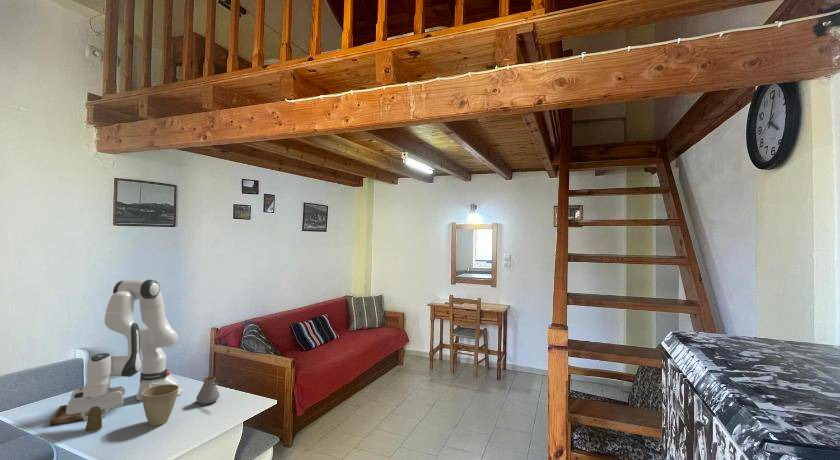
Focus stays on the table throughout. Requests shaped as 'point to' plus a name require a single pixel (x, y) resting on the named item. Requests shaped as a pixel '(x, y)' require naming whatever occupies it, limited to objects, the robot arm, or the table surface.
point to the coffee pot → (209, 391)
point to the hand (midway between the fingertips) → (94, 419)
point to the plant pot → (159, 403)
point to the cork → (94, 419)
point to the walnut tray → (65, 417)
